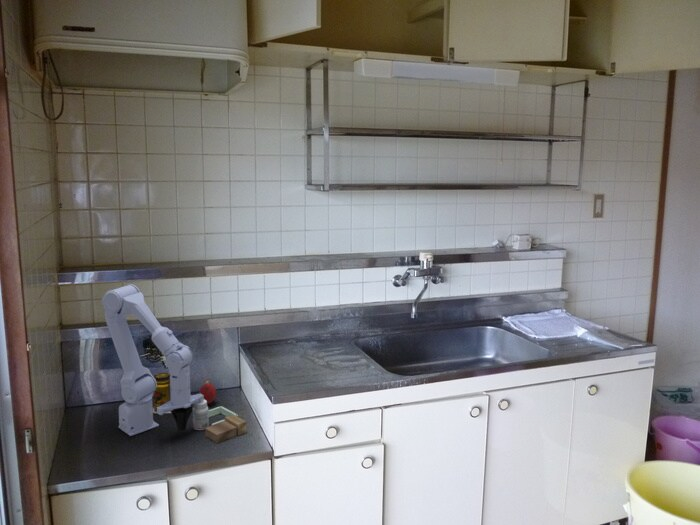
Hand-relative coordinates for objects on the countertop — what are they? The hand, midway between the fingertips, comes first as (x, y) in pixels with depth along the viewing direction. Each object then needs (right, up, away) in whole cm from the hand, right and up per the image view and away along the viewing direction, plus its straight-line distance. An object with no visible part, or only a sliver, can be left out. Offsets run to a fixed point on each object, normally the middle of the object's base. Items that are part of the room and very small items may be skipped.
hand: (181, 429), depth 179 cm
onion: (+3, +2, +22) cm, 22 cm away
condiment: (-11, +2, +18) cm, 21 cm away
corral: (+9, 0, +9) cm, 13 cm away
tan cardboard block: (+12, -2, 0) cm, 12 cm away
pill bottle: (+5, -1, +5) cm, 7 cm away
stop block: (+16, -1, +4) cm, 16 cm away
